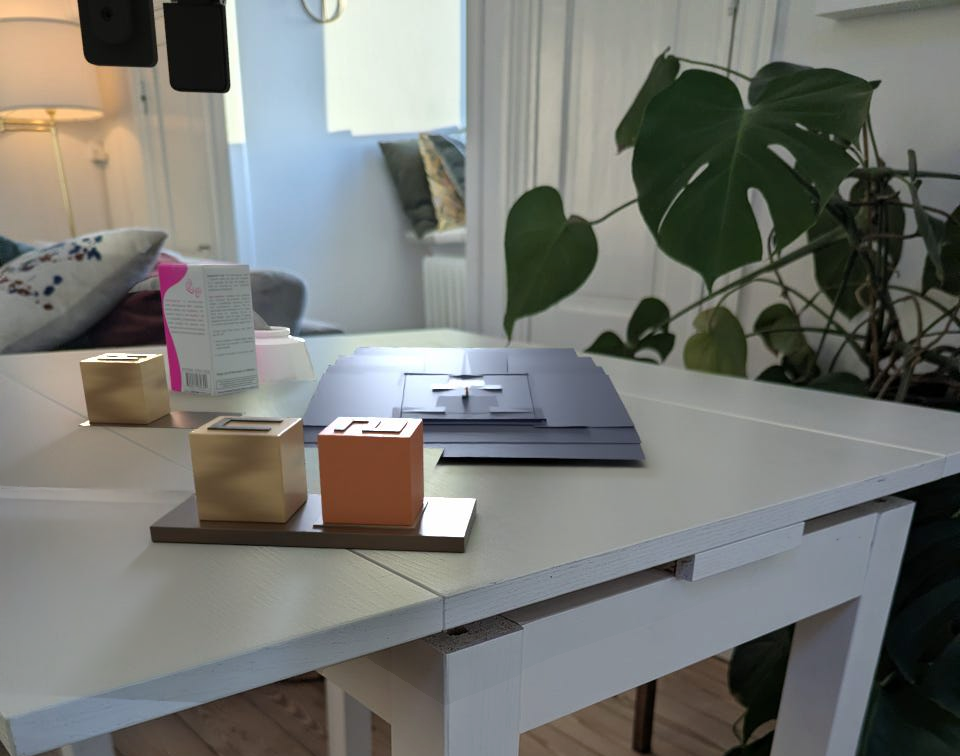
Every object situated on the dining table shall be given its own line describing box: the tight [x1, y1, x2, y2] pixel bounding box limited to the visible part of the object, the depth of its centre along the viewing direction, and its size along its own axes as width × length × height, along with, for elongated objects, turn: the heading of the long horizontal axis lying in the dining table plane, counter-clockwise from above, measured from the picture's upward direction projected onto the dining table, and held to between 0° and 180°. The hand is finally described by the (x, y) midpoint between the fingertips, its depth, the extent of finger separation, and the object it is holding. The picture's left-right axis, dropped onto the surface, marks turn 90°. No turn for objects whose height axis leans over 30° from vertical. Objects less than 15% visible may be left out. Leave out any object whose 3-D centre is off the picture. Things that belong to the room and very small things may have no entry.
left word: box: [78, 353, 246, 430], centre depth 72 cm, size 11×6×5 cm, turn 85°
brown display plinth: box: [149, 416, 478, 553], centre depth 49 cm, size 16×7×5 cm, turn 85°
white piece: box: [128, 275, 317, 382], centre depth 92 cm, size 9×18×10 cm, turn 90°
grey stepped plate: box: [302, 346, 647, 461], centre depth 76 cm, size 24×30×4 cm
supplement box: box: [157, 262, 260, 397], centre depth 84 cm, size 6×6×12 cm
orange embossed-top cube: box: [317, 417, 425, 526], centre depth 49 cm, size 5×5×5 cm
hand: (165, 80), depth 46 cm, fingers open, 9 cm apart
